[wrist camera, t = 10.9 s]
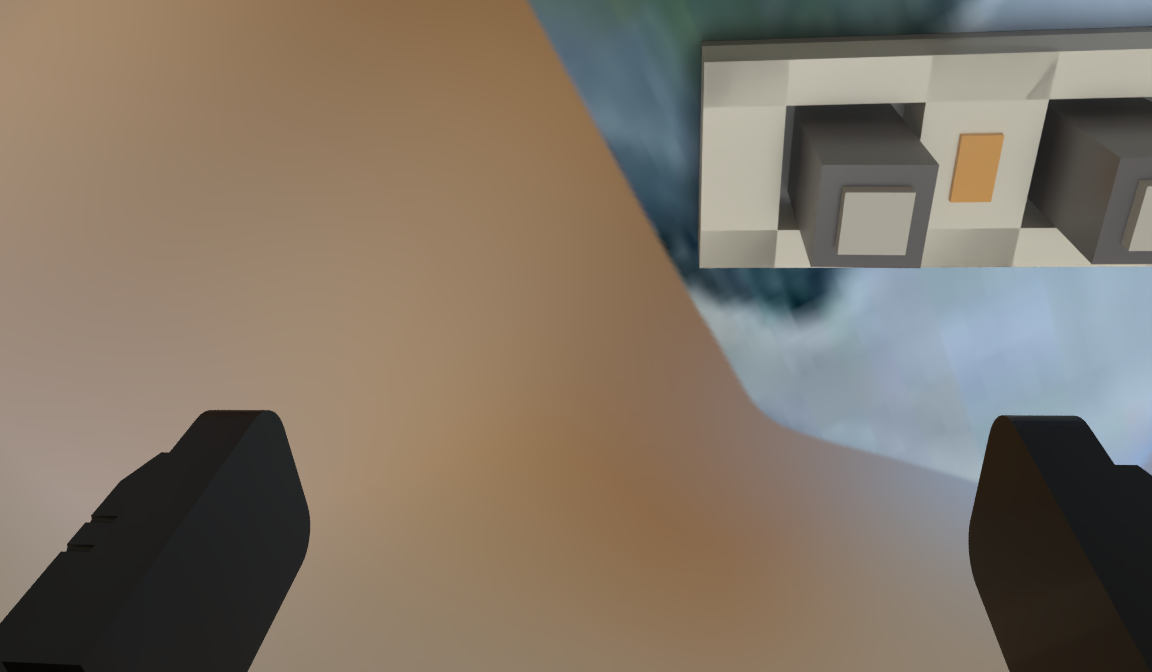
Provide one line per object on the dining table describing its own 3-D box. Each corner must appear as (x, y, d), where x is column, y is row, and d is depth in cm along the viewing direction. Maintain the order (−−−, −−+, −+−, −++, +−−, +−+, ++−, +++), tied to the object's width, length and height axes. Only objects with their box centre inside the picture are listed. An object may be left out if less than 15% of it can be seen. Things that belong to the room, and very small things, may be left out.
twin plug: (1036, 96, 36) (1128, 164, 29) (1137, 93, 36) (1257, 161, 28) (1017, 186, 38) (1098, 271, 31) (1112, 185, 38) (1218, 271, 30)
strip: (697, 232, 42) (699, 271, 38) (701, 41, 37) (704, 64, 34) (1181, 228, 39) (1233, 269, 36) (1248, 23, 35) (1315, 45, 31)
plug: (795, 104, 37) (824, 170, 30) (890, 103, 37) (943, 170, 29) (787, 191, 39) (813, 273, 32) (876, 191, 39) (924, 275, 32)
